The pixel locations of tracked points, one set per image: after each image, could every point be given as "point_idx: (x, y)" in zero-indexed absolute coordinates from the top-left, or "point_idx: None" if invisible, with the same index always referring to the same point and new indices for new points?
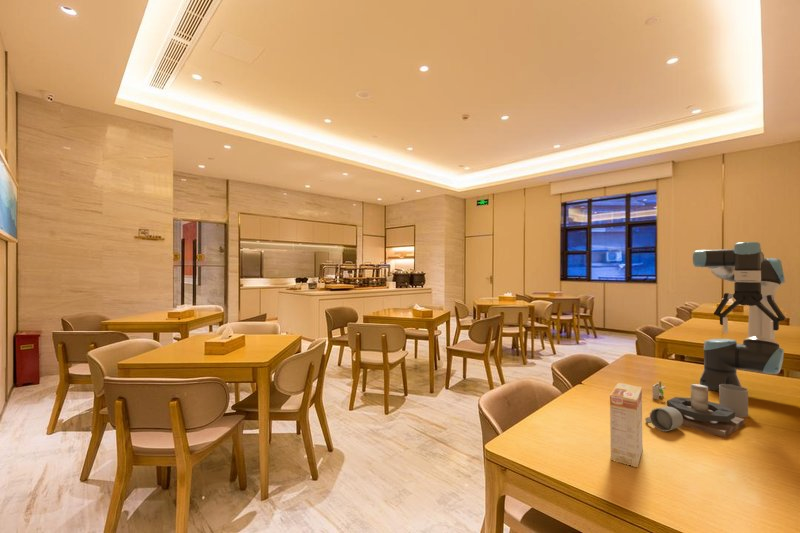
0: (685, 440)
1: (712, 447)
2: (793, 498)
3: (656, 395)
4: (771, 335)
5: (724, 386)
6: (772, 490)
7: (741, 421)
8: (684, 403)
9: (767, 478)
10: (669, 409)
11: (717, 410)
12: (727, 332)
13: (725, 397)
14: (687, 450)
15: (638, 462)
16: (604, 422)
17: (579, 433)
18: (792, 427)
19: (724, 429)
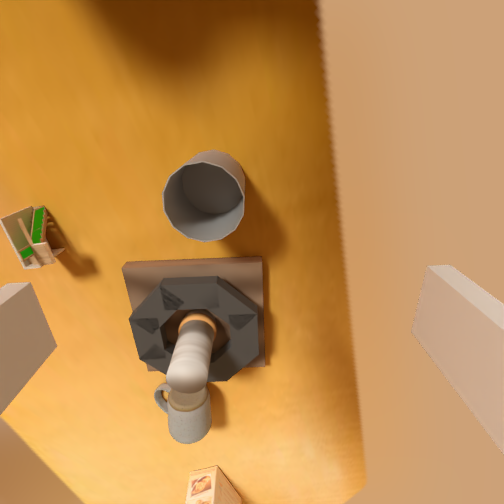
0: (233, 408)
1: (267, 401)
2: (363, 447)
3: (53, 254)
4: (444, 361)
5: (169, 181)
6: (346, 448)
7: (262, 280)
8: (162, 330)
9: (338, 429)
10: (193, 431)
11: (231, 334)
12: (26, 296)
13: (200, 228)
14: (251, 432)
15: (238, 497)
16: (131, 440)
17: (148, 485)
18: (334, 174)
19: (260, 354)
